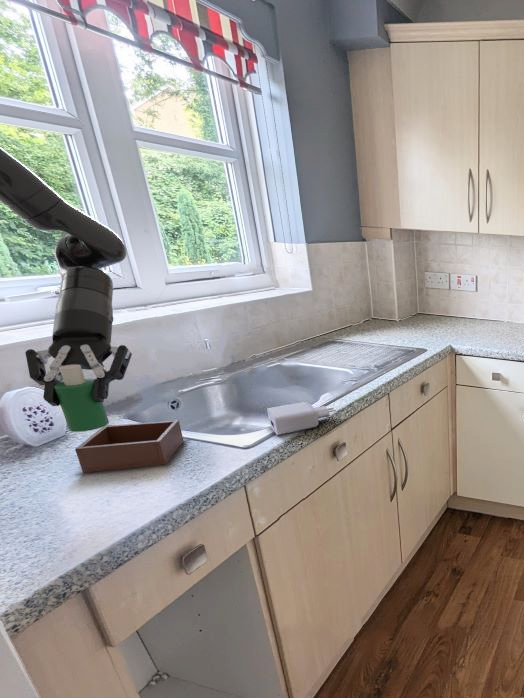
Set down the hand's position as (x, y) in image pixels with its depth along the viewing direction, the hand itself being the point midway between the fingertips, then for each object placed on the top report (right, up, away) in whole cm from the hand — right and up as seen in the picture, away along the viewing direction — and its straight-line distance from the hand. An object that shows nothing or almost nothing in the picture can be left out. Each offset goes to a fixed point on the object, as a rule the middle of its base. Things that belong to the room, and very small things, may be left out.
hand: (76, 401), depth 77 cm
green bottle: (-1, -4, +3) cm, 5 cm away
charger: (+19, -6, +40) cm, 45 cm away
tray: (-7, -12, +20) cm, 24 cm away
